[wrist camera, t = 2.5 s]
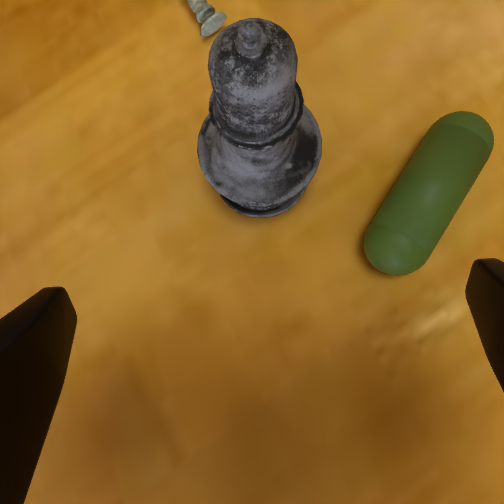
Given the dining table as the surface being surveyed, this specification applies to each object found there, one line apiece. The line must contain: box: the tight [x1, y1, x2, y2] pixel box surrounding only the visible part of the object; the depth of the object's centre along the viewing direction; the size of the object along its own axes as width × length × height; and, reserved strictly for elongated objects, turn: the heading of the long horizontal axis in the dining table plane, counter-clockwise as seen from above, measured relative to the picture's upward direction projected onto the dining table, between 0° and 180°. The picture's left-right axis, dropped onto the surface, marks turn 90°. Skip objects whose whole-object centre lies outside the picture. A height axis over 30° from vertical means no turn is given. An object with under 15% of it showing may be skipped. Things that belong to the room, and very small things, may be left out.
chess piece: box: [197, 18, 322, 218], centre depth 18 cm, size 6×6×12 cm
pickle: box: [364, 111, 494, 276], centre depth 21 cm, size 9×3×3 cm, turn 147°
